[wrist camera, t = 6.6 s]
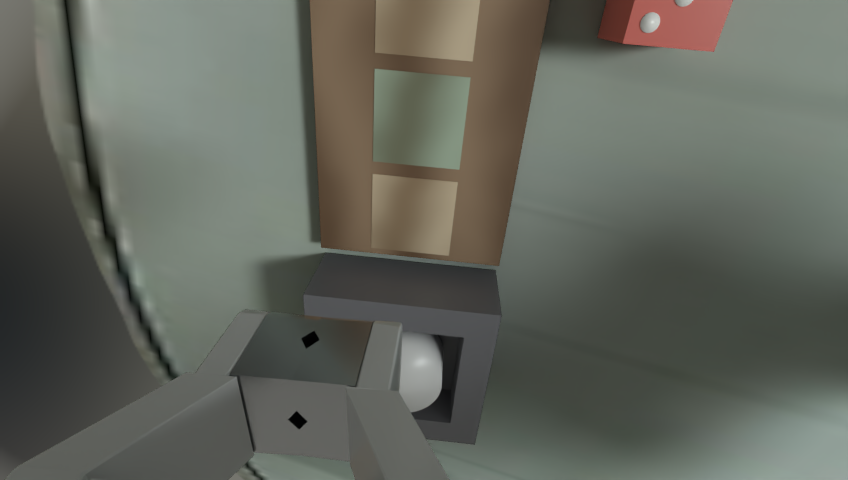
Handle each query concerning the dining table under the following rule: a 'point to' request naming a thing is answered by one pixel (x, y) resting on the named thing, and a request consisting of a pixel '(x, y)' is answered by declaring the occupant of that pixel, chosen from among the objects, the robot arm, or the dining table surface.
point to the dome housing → (422, 324)
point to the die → (665, 23)
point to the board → (421, 122)
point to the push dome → (420, 369)
